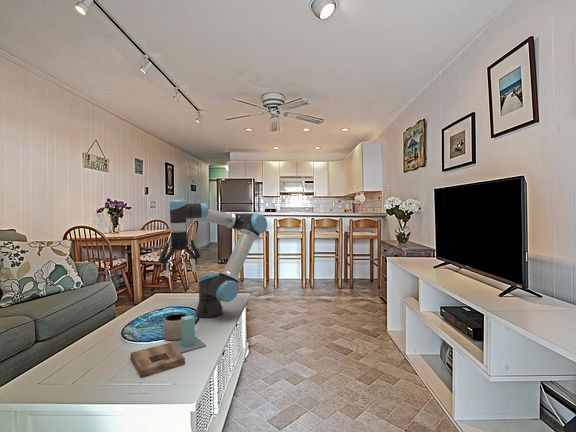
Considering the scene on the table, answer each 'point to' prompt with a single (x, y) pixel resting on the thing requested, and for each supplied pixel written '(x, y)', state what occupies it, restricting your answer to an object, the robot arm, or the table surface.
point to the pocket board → (156, 359)
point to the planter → (173, 326)
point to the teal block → (187, 331)
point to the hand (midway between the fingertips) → (180, 274)
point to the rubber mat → (189, 348)
